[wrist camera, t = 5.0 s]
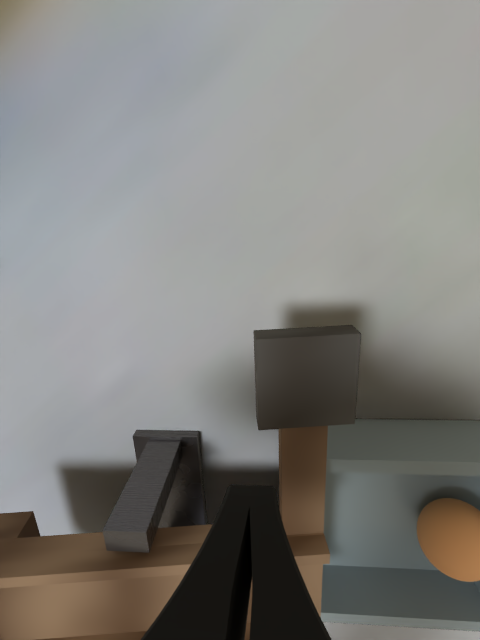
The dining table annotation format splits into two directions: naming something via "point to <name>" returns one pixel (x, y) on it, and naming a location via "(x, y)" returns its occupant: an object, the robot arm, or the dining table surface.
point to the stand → (158, 490)
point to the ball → (451, 538)
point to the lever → (185, 542)
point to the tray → (395, 522)
